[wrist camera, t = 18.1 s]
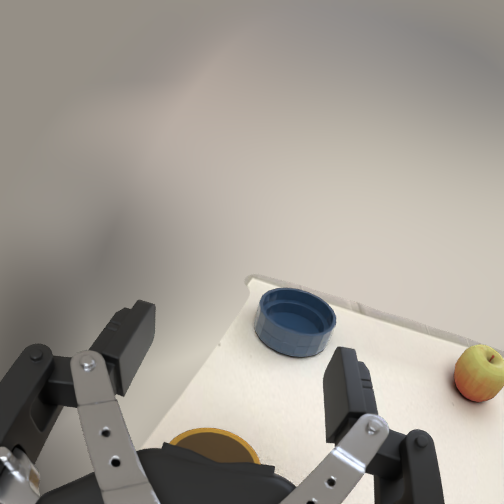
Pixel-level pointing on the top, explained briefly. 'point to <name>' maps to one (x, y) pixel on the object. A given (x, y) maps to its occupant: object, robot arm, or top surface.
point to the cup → (217, 445)
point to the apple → (479, 373)
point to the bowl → (294, 322)
